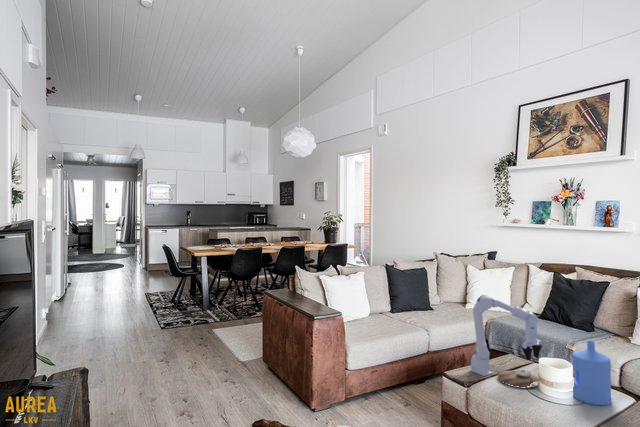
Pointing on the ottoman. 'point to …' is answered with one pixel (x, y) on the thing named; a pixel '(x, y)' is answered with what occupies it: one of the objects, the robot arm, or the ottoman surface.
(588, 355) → the water jug
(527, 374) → the cover
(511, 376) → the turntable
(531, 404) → the ottoman surface
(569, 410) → the ottoman surface
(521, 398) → the ottoman surface
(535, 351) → the robot arm
